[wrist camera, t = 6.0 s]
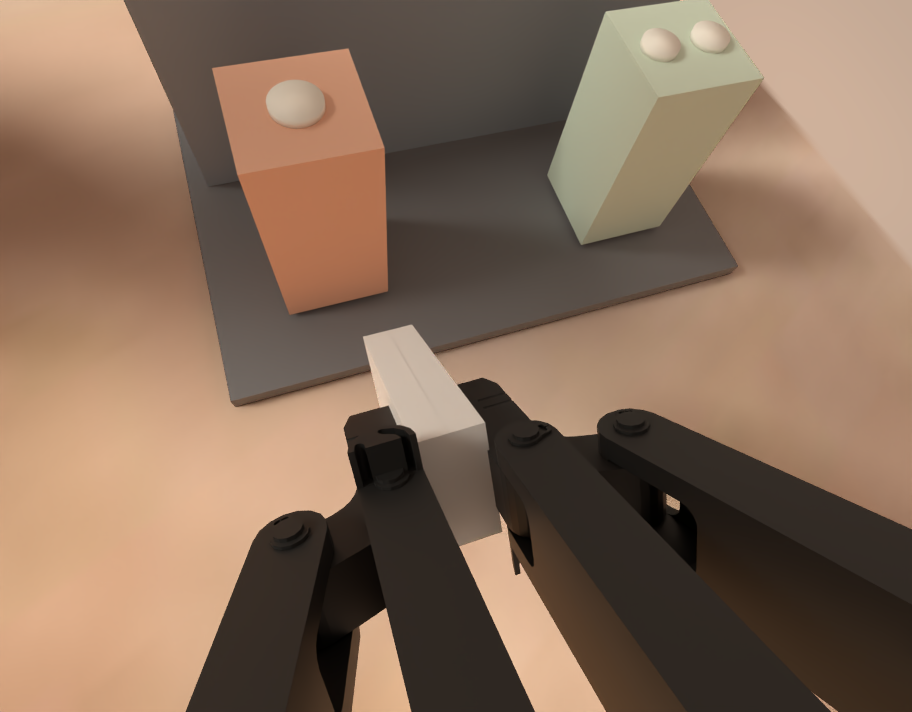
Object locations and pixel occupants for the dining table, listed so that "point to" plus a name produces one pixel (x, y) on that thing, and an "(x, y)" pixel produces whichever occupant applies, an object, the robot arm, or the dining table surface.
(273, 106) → the button one
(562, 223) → the console
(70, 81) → the dining table surface
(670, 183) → the button two
